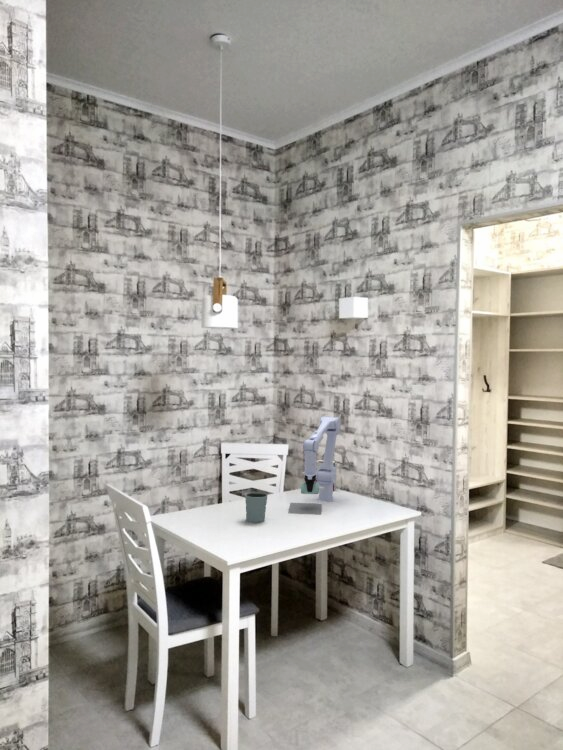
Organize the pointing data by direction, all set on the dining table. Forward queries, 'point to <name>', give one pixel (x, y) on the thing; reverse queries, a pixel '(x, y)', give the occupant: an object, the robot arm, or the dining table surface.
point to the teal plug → (314, 491)
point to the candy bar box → (319, 463)
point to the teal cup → (255, 507)
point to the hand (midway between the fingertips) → (309, 490)
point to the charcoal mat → (305, 508)
